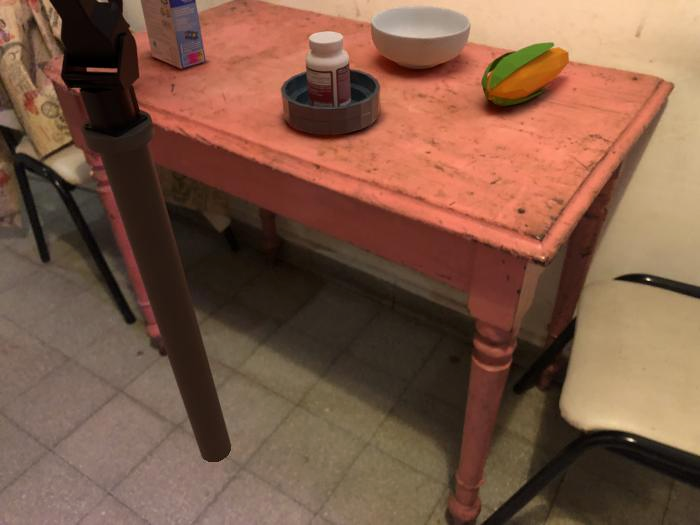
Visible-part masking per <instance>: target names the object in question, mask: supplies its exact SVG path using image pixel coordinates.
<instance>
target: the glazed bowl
mask: <svg viewBox="0 0 700 525" xmlns="http://www.w3.org/2000/svg"><path fill="white" fill-rule="evenodd" d="M350 92H351V104H349V105H345V106H335V107H317V106H311V105H309V96H308V85H307V73H306V71H302V72H301V73H297V74H295V75H292V76H290V77H289V78H288V79H287V80H285V81H284V82H283V83H282V85H281V87H280V95H281V104H282V113H283V118H284V121H285V122H286V123H287V124H288V125H289V126H290V127H292V128H294V129H296V130H298V131H300V132H305V133H309V134H312V135H331V136H333V135H341V134H342V135H343V134H348V133H352V132H356V131H359V130H363V129H364V128H366V127H368V126H371V125H372V124H373V123H374V122H375V121H376V120H377V119H378V118H379V115H380V112H381V84H380V82H379V81H378V79H377V78H376V77H374V76H373V75H371V74H370V73H368V72H364V71H362V70H360V69H353V68H350Z"/></svg>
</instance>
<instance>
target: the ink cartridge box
mask: <svg viewBox="0 0 700 525" xmlns="http://www.w3.org/2000/svg"><path fill="white" fill-rule="evenodd" d="M140 5H141V11H142V15H143V19H144V23H145V28H146V33H147V38H148V43H149V48H150V53H151V57H153V58H155V59H157V60H160V61H162V62H164V63H167V64H169V65H172V66H174V67H176V68H178V69H180V70H181V69H186V68H189V67H192V66H196V65H199V64H204V63H206V61H207V59H206V53H205V48H204V42H203V36H202V29H201V25H200V19H199V12H198V6H197V1H196V0H140Z"/></svg>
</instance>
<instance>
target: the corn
mask: <svg viewBox="0 0 700 525" xmlns="http://www.w3.org/2000/svg"><path fill="white" fill-rule="evenodd" d="M569 63H570V55H569V51H567V50H565V49H564V48H561V47H559V46H558V47H555V42H550V41H549V42H540V43H534V44H531V45H528V46H525V47H522V48H520V49H518V50H516V51H510V52H505V53H504V54H501V55H500V56H498V57H496V58H495V59H494V60H493V61H491V62H490V63H489V64H488V65H487V67H486V69H485V70H484V73H483V75H482V78H481V81H480V82H481V83H480V85H481V86H482V91H483V93H484V96H485V98H486V100H487V102H488V103H493V104H494V105H497V106H499V107H506V106H507V107H508V106H513V105H517V104H521V103H525V102H527V101H529V100H531V99H533V98H535V97H538V96H539V95H540V94H542V93H543V92H545V91H547V90H548V89H549V88H551V87H553V84H551V85H550V86H547V85H548V84H549V83H551V82H552V81H553V80H555V79H556V78H557V77H558V76H559V75H560V74H561V73H562V71H563V70H564V69H565V67H567V65H568V64H569ZM545 86H547V87H545Z"/></svg>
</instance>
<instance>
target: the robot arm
mask: <svg viewBox="0 0 700 525" xmlns="http://www.w3.org/2000/svg"><path fill="white" fill-rule="evenodd" d="M48 1H49V3H50V4H51V5H52V7H53V9H54V10H55V12H56V13H57V15H58V17H59V19H60V21H61V24H60V40H61V42H62V45H63V46H64V50H63V57H62V64H61V72H60V78H61V80H62V82H63V83H64V85H65V87H66V88H67V89H71V90H73V89H78V90H79V94H80V97H81V100H82V103H83V105H84V109H85V112H86V114H87V118H88V119H89V121H90V122H89V123H87V124H85V125H84V128H85V129H86V130H90V131H94V132H98V133H102V134H106V135H109V136H113V137H119V136H121V135H123V134H124V133H126V132H127V131H129V130H131V129H132V128H134V127H136V126H137V125H139V124H140V123H142V122H144V121H145V120H147V119H148V116H147V115H145V114H140V113H139V112H140V110H141V109H140V105H139V102H138V99H137V98H138V97H137V96H136V91H135V87H134V83H135V82H137V80H139V79H140V69H139V68H140V66H139V57H138V55H139V54H138V46H137V41H136V38H135V37H134V35H133V33H132V31H131V30H130V28H131V24H130V23H129V22H127V20H126V19H125V17H124V0H106V1H99V0H48ZM88 69H111V70H112V69H113V70H115V69H116V71H98V70H97V71H94V70H88Z"/></svg>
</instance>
